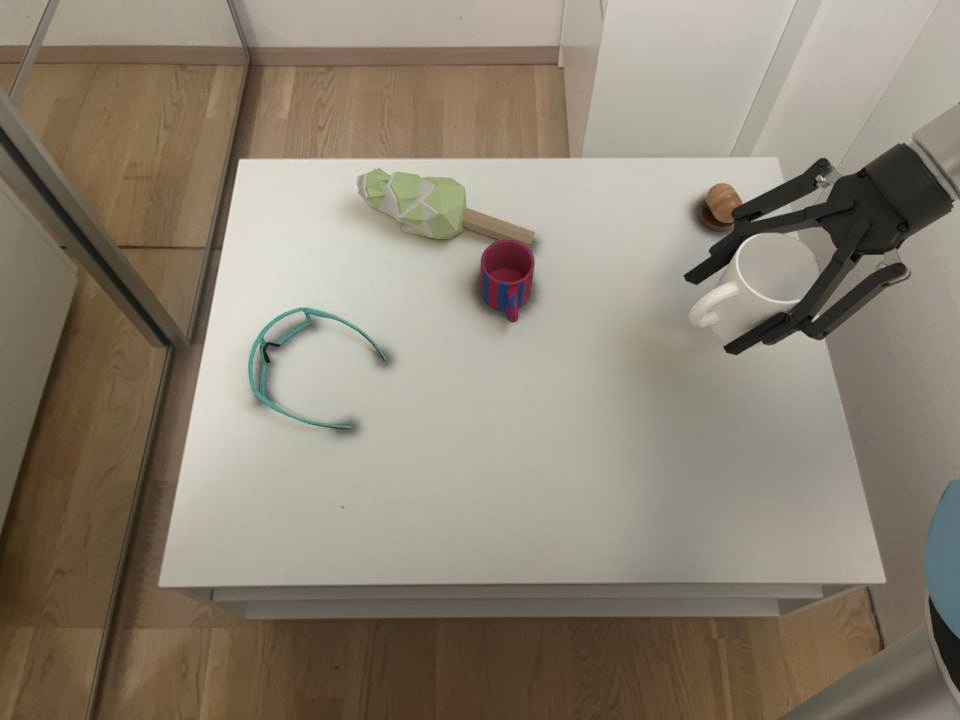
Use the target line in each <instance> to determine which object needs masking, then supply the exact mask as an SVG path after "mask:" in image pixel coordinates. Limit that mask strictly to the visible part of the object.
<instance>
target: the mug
mask: <svg viewBox="0 0 960 720" xmlns="http://www.w3.org/2000/svg"><path fill="white" fill-rule="evenodd" d="M821 273H822V269H821V265H820V262H819V260H818V257H817V256H816V254H815V253H814V252H813V250H811V248H810V247H809V246H808V245H806V244H805V243H804V242H802V241H801V240H799V239H797V238H796V237H794V236H791V235H789V234H787V233H785V234H782V233H760V234H756V235H754V236H752V237H750V238H748V239H747V240H745V241H744V242H743V243H742V244H741V245H740V247H739V248H738V250H737V251H736V253H735V255H734V256H733V258H732V260H731V261H730V263H729V264H728V265H727V266H726V268H725V269H724V271H723V272H722V275H721V276H720V278H719V279H718V281H717V283H716V284H715V286H714V287H713V289H711V290H710V291H708V292H707V293H706V294H704V295H703V296H702V297H701V298H699V299H698V301H697V302H696V303H695V304H694V305H693V307H691V309H690V311H689V313H688V322H689V323H690V324H691V326H693V327H695V328H707V327H710V329H711V330H712V331H713V333H714V334H715V335H716V336H717V337H718V338H719V339H720V340H722V341H724V342H725V343H727V344H728V343H730V342H731V341H733V340H735V339H736V338H738V337H740V336H741V335H743V334H745V333H746V332H748V331H750V330H751V329H753V328H755V327H756V326H758V325H760V324H761V323H763V322H765V321H766V320H768V319H770V318H771V317H773V316H775V315H776V314H778V313H780V312H784V313H786V314H788V315H791V314H792V312H793V311H794V310H795V308H796V307H797V306H798V304H799V303H800V302H801V300H802V299H803V298H804V296H805V295H806V293H807V292H808V291H809V289H810V288H811V287H812V285H813V284H814V283H815V281H816V280H817V279H818V277H819V276H820V275H821ZM764 345H765V344H763V343H762V341H760V342H759V343H757V344H755V345H753V346H752V347H750V348H749V349H752V348H753V349H754V348H758V347H762V346H764Z"/></svg>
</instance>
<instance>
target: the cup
mask: <svg viewBox="0 0 960 720" xmlns="http://www.w3.org/2000/svg"><path fill="white" fill-rule="evenodd" d="M530 249H531V248H528V247H527V246H525V245H524V244H522V243H520V242H518V241H514V240H496V241H494V242H493V243H491V244H489V245H488V246H487V247H486V248H485V249H484V251H483V252H482V255H481V257H480V295H481V298H482V300H483V301H484V303H485V304H486V305H487V306H488V307H490V308H491V309H493V310H495V311H498V312H503V313H504V312H505V313H506V317H507V320H508V322H509V323H516V322H517V321H518V320H519V310H520V309H521V308H522V307H524V306H525V305H526V304H527V303H528V301H529V299H530V297H531V295H532V294H531V293H532V287H533V279H534V272H535V264H536V262H535V261H536V260H535V256H534V254H533V251H531V250H530Z"/></svg>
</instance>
